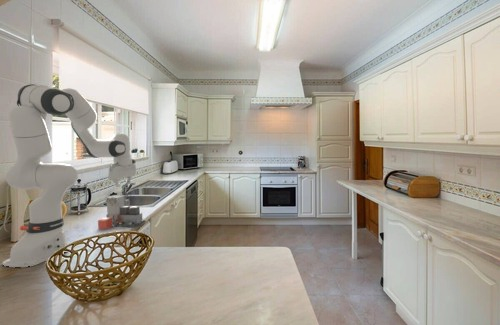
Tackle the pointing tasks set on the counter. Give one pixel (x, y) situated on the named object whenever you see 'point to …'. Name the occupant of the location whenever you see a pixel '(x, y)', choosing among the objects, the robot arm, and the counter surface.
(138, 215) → the breaker panel
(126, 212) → the plunger
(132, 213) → the plunger
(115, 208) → the circuit breaker
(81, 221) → the counter surface
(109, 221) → the red cube
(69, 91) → the robot arm
